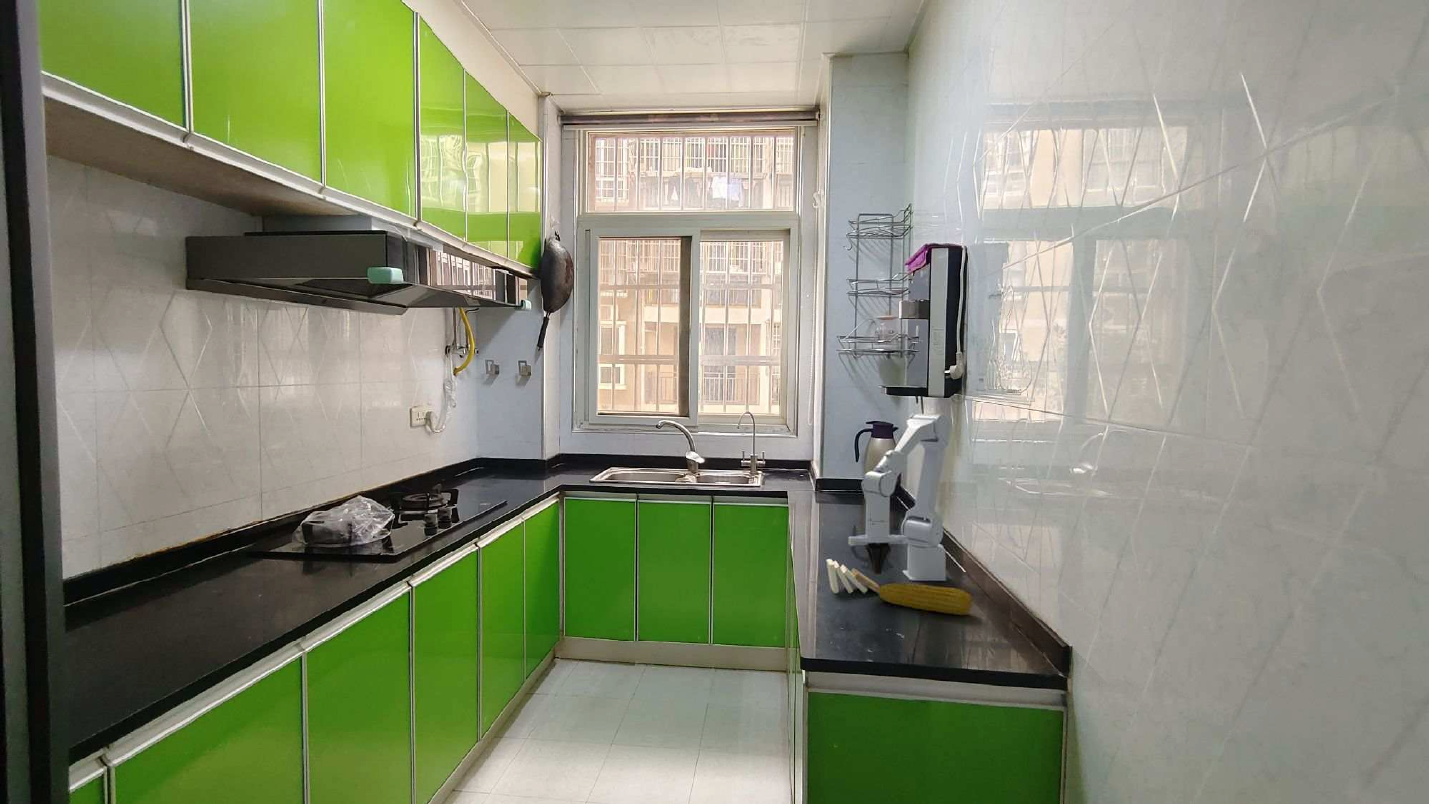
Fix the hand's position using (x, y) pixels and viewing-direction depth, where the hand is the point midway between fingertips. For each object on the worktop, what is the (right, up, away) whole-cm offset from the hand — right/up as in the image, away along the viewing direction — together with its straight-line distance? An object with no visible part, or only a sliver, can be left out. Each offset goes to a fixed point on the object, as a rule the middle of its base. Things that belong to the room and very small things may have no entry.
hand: (876, 572), depth 168 cm
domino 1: (-11, -4, 0) cm, 11 cm away
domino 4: (0, -4, 0) cm, 4 cm away
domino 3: (-3, -4, 0) cm, 5 cm away
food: (+8, -5, -13) cm, 16 cm away
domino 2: (-7, -4, 0) cm, 8 cm away
